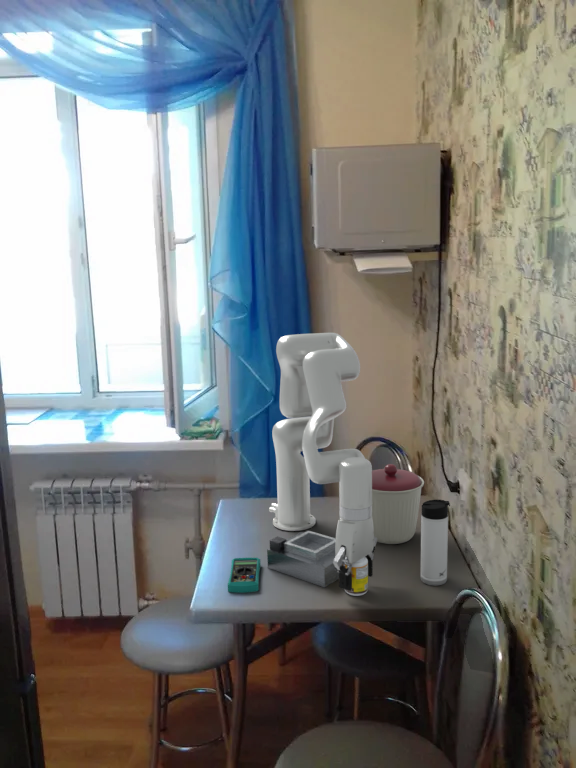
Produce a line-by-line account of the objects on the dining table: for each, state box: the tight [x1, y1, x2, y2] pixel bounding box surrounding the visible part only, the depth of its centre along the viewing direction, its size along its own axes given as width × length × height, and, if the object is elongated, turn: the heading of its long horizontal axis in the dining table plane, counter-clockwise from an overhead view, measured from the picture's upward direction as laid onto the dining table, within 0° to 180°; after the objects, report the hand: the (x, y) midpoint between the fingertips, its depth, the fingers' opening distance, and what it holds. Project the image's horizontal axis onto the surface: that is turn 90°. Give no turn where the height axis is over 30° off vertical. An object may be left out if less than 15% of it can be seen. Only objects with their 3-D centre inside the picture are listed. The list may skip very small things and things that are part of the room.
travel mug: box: [420, 499, 451, 586], centre depth 170 cm, size 6×7×20 cm
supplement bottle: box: [344, 557, 369, 597], centre depth 166 cm, size 6×6×10 cm
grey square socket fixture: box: [266, 530, 339, 589], centre depth 179 cm, size 18×14×7 cm
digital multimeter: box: [227, 557, 262, 594], centre depth 175 cm, size 7×15×3 cm, turn 0°
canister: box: [372, 463, 425, 545], centre depth 196 cm, size 18×18×21 cm
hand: (356, 581), depth 167 cm, fingers open, 8 cm apart
